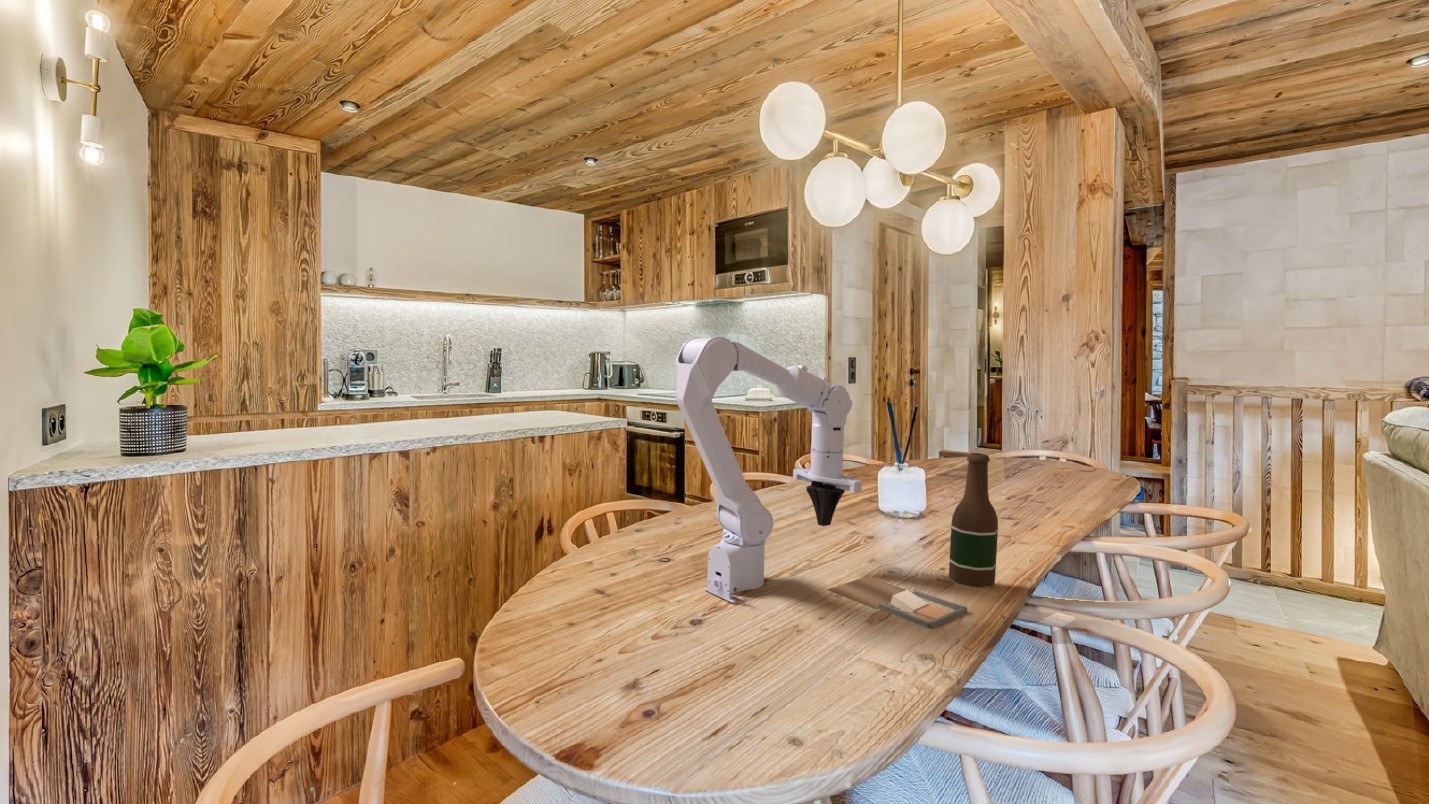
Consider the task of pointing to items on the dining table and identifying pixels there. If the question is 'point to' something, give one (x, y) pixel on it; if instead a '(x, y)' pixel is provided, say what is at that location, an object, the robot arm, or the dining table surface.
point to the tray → (958, 611)
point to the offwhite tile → (907, 601)
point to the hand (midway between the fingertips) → (824, 524)
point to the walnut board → (868, 591)
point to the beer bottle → (974, 530)
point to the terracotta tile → (931, 612)
